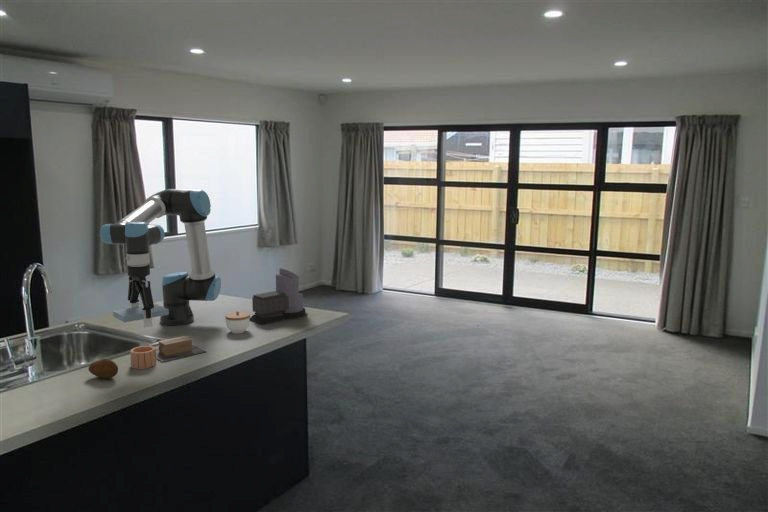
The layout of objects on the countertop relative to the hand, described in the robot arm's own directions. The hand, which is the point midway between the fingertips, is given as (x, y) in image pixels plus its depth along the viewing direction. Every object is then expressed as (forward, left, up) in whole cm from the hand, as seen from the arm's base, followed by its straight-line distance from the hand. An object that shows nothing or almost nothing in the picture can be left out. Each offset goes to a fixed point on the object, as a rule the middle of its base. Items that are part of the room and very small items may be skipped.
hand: (141, 323), depth 210 cm
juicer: (-23, +76, -16) cm, 81 cm away
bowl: (0, 0, -16) cm, 16 cm away
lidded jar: (-15, +48, -16) cm, 53 cm away
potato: (+4, -15, -16) cm, 23 cm away
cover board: (0, 0, +3) cm, 3 cm away
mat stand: (-6, +15, -16) cm, 23 cm away
